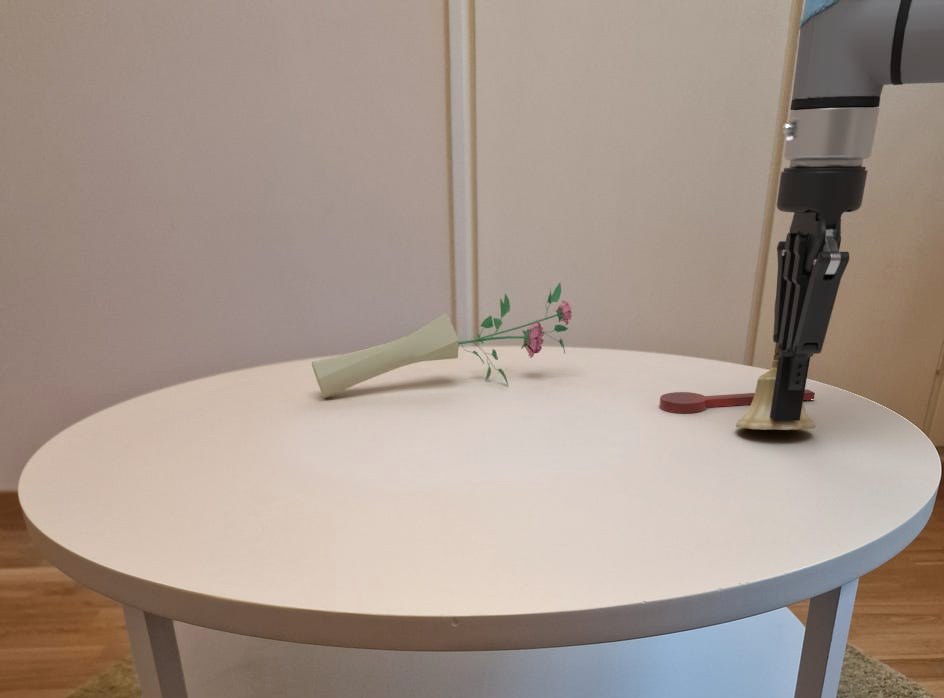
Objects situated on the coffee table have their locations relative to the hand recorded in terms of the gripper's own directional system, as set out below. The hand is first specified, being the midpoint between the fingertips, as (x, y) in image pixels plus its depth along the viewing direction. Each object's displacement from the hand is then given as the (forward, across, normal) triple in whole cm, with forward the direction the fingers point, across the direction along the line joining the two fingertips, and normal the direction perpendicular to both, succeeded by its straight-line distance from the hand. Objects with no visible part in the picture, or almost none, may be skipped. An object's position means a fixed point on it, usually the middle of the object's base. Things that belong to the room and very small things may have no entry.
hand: (784, 418), depth 92 cm
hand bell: (+2, -4, 0) cm, 4 cm away
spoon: (+3, -17, 0) cm, 17 cm away
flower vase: (+3, -30, -36) cm, 47 cm away
